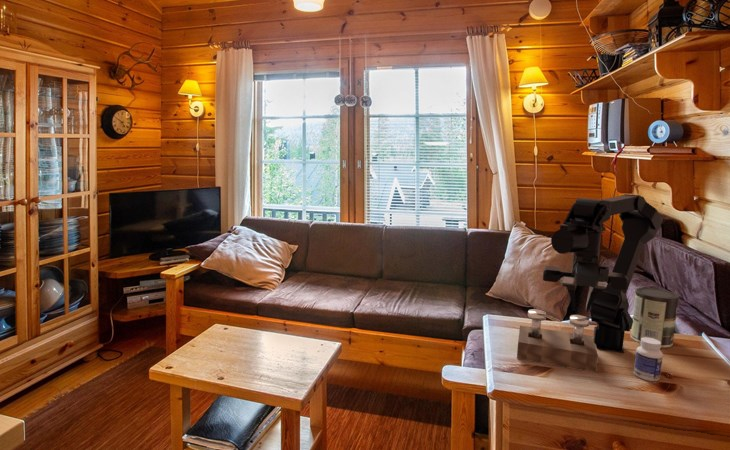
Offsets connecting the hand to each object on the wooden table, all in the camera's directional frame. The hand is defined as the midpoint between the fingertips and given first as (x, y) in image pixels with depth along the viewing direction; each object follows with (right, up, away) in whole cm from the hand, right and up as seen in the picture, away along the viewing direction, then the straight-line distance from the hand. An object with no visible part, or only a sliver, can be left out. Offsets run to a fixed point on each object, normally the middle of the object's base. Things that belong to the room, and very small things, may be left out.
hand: (580, 310), depth 109 cm
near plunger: (0, -8, +1) cm, 8 cm away
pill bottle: (+13, -15, -6) cm, 20 cm away
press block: (-5, -13, +4) cm, 14 cm away
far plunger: (-9, -7, +5) cm, 13 cm away
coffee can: (+27, -12, +15) cm, 33 cm away
